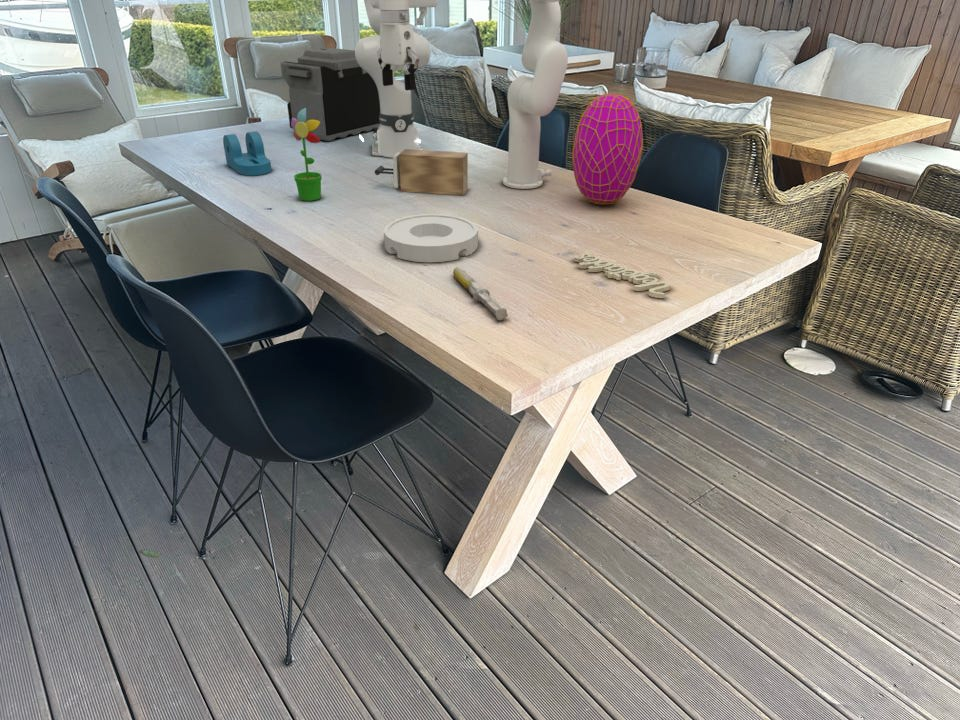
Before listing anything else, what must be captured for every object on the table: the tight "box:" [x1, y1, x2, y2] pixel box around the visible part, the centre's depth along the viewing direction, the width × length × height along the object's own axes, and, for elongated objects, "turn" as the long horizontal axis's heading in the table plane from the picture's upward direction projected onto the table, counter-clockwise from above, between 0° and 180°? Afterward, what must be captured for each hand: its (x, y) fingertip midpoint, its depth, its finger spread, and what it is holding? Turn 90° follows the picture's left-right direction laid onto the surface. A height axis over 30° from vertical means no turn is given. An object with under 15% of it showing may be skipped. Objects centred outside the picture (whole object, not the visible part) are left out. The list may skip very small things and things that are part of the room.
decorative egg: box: [571, 92, 644, 205], centre depth 194 cm, size 19×19×30 cm
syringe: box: [452, 266, 509, 321], centre depth 145 cm, size 25×4×3 cm, turn 21°
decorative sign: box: [574, 252, 671, 299], centre depth 155 cm, size 26×1×10 cm
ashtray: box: [383, 213, 479, 263], centre depth 170 cm, size 23×23×4 cm
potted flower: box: [291, 108, 323, 202], centre depth 196 cm, size 9×8×25 cm
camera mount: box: [222, 131, 272, 176], centre depth 226 cm, size 18×10×10 cm, turn 35°
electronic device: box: [279, 47, 380, 142], centre depth 271 cm, size 37×22×30 cm, turn 144°
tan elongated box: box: [399, 149, 469, 196], centre depth 208 cm, size 20×6×11 cm, turn 79°
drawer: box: [374, 152, 401, 188], centre depth 209 cm, size 25×5×9 cm, turn 79°
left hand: (405, 25), depth 199 cm, fingers open, 8 cm apart
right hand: (399, 87), depth 187 cm, fingers open, 9 cm apart
